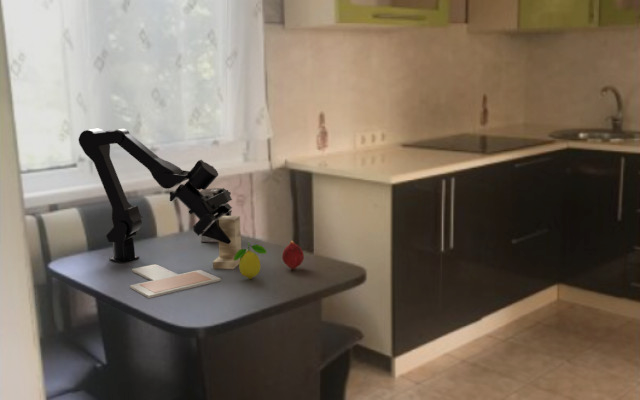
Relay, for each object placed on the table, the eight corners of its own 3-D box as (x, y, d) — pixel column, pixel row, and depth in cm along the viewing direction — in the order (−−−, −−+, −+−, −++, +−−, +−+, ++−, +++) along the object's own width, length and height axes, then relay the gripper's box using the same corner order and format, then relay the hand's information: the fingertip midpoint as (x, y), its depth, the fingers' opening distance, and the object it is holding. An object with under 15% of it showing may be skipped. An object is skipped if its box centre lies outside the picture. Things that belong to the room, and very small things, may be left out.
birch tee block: (213, 268, 186) (210, 223, 184) (228, 255, 200) (226, 212, 197) (233, 269, 185) (231, 223, 183) (247, 255, 199) (245, 212, 196)
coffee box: (220, 241, 216) (217, 192, 213) (200, 242, 216) (197, 193, 213) (224, 235, 225) (222, 187, 222) (205, 235, 225) (202, 188, 222)
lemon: (267, 277, 176) (266, 240, 174) (254, 283, 171) (253, 245, 169) (247, 274, 180) (245, 238, 178) (233, 280, 175) (231, 243, 173)
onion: (308, 268, 183) (307, 240, 182) (293, 273, 179) (292, 244, 177) (293, 265, 187) (292, 237, 186) (278, 269, 183) (277, 241, 181)
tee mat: (109, 275, 182) (108, 273, 181) (176, 261, 194) (176, 259, 194) (148, 298, 162) (148, 295, 162) (220, 280, 175) (220, 278, 174)
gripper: (201, 186, 180) (243, 227, 180) (223, 176, 198) (261, 213, 198) (175, 215, 183) (216, 255, 183) (199, 202, 201) (237, 238, 201)
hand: (234, 239), depth 191 cm, fingers open, 8 cm apart
